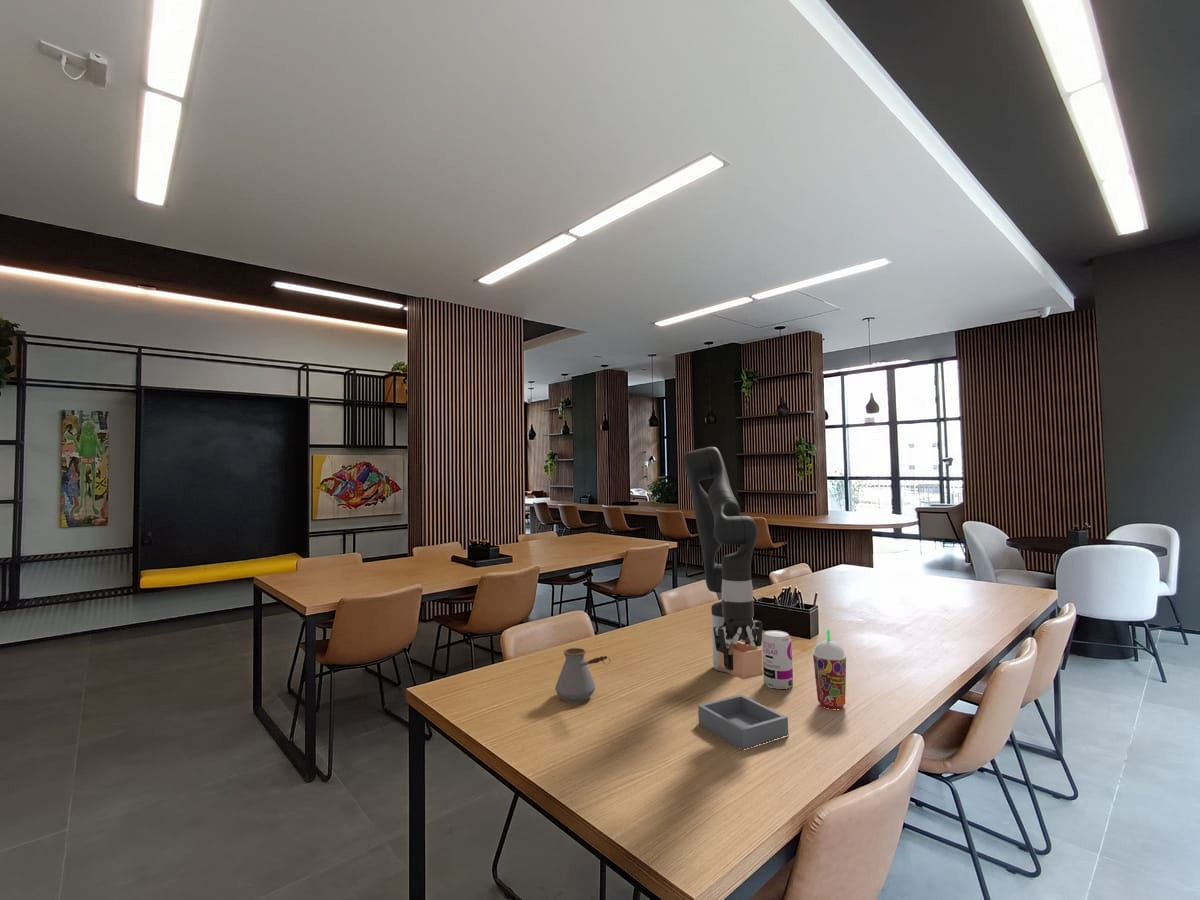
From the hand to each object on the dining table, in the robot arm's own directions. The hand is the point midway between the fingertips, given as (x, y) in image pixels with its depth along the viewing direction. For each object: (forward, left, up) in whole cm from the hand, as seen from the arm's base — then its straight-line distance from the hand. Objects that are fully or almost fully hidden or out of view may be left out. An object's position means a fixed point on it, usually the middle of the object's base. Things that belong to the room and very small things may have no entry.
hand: (739, 666), depth 133 cm
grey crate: (0, 0, -15) cm, 15 cm away
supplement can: (-29, -17, -15) cm, 37 cm away
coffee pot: (+26, -34, -15) cm, 45 cm away
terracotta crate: (0, 0, -1) cm, 1 cm away
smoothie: (-30, +1, -15) cm, 34 cm away
